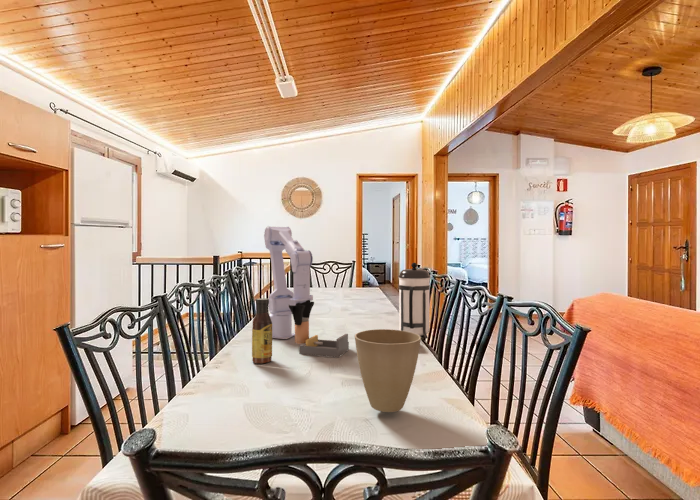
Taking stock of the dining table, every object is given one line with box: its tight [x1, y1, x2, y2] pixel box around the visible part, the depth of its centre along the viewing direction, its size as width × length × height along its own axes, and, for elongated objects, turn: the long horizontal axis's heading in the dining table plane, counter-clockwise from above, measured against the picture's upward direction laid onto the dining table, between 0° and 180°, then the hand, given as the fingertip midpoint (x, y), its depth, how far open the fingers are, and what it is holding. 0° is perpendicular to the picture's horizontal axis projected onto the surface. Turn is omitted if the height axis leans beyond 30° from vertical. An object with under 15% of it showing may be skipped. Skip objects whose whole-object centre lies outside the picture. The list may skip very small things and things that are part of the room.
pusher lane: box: [298, 333, 350, 359], centre depth 134 cm, size 14×11×6 cm
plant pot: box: [354, 328, 422, 413], centre depth 88 cm, size 15×15×16 cm
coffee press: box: [398, 262, 431, 339], centre depth 156 cm, size 17×16×30 cm
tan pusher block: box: [305, 334, 323, 347], centre depth 135 cm, size 4×8×4 cm, turn 161°
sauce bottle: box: [251, 298, 273, 365], centre depth 123 cm, size 7×6×20 cm
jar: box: [294, 316, 310, 345], centre depth 137 cm, size 5×5×8 cm
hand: (301, 323), depth 137 cm, fingers closed on jar, 5 cm apart
